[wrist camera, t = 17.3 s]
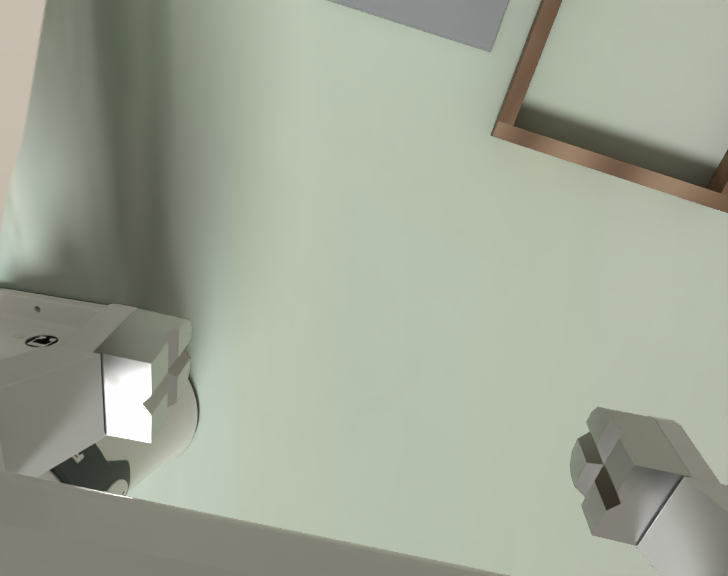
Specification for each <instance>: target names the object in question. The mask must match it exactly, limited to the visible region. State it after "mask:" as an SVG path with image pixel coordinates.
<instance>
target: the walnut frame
mask: <svg viewBox="0 0 728 576" xmlns="http://www.w3.org/2000/svg"><path fill="white" fill-rule="evenodd" d="M561 2H562V0H542V1H541V3H540V6H539V9H538V11H537V14H536V17H535V19H534V22H533V24H532V27H531V30H530V32H529V35H528V38H527V40H526V43H525V46H524V48H523V51H522V54H521V56H520V59H519V62H518V64H517V67H516V70H515V72H514V75H513V77H512V80H511V83H510V85H509V88H508V91H507V93H506V96H505V99H504V101H503V104H502V107H501V109H500V112H499V115H498V117H497V120H496V123H495V125H494V128H493V130H492V133H491V136H494V137H497V138H500V139H503V140H506V141H509V142H512V143H515V144H518V145H521V146H524V147H527V148H530V149H533V150H536V151H539V152H543V153H546V154H549V155H552V156H555V157H558V158H561V159H564V160H567V161H570V162H573V163H576V164H579V165H582V166H585V167H588V168H591V169H595V170H598V171H601V172H604V173H607V174H610V175H613V176H616V177H619V178H622V179H625V180H628V181H631V182H634V183H637V184H640V185H644V186H647V187H650V188H653V189H656V190H659V191H662V192H665V193H668V194H671V195H674V196H677V197H680V198H683V199H686V200H689V201H692V202H696V203H699V204H702V205H705V206H708V207H711V208H714V209H717V210H720V211H723V212H726V213H728V150H727V152H726V154H725V156H724V158H723V160H722V162H721V163H720V165H719V167H718V169H717V171H716V173H715V175H714V176H713V178H712V180H711V182H710V184H709V186H708V188H707V189H706V188H703V187H699V186H696V185H693V184H690V183H687V182H684V181H681V180H678V179H675V178H672V177H669V176H666V175H663V174H659V173H656V172H653V171H650V170H647V169H644V168H641V167H638V166H635V165H632V164H629V163H626V162H623V161H619V160H616V159H613V158H610V157H607V156H604V155H601V154H598V153H595V152H592V151H589V150H586V149H583V148H579V147H576V146H573V145H570V144H567V143H564V142H561V141H558V140H555V139H552V138H549V137H546V136H543V135H539V134H536V133H533V132H530V131H527V130H524V129H521V128H518V127H515V126H513V125H514V123H515V120H516V117H517V115H518V112H519V110H520V107H521V105H522V102H523V99H524V97H525V94H526V92H527V89H528V87H529V84H530V81H531V79H532V76H533V74H534V71H535V69H536V66H537V64H538V61H539V58H540V56H541V53H542V51H543V48H544V46H545V43H546V40H547V38H548V35H549V33H550V30H551V28H552V25H553V22H554V20H555V17H556V15H557V12H558V10H559V7H560V4H561Z"/></svg>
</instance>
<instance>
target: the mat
mask: <svg viewBox="0 0 728 576" xmlns="http://www.w3.org/2000/svg"><path fill="white" fill-rule="evenodd" d="M328 1H331V2H334V3H337V4H341V5H344V6H347V7H350V8H353V9H356V10H359V11H362V12H366V13H369V14H372V15H375V16H378V17H381V18H384V19H388V20H391V21H394V22H397V23H400V24H403V25H406V26H410V27H413V28H416V29H419V30H422V31H425V32H428V33H432V34H435V35H438V36H441V37H444V38H447V39H450V40H454V41H457V42H460V43H463V44H466V45H469V46H472V47H476V48H479V49H482V50H485V51H488V52H490V51H491V49H492V46H493V43H494V40H495V38H496V35H497V32H498V29H499V26H500V24H501V21H502V18H503V15H504V12H505V10H506V7H507V4H508V1H509V0H328Z"/></svg>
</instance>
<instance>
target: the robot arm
mask: <svg viewBox="0 0 728 576" xmlns="http://www.w3.org/2000/svg"><path fill="white" fill-rule="evenodd" d="M191 339H192V324H191V323H190V321H189V320H187V319H183V318H179V317H175V316H170V315H166V314H162V313H157V312H153V311H149V310H144V309H138V308H136V307H131V306H126V305H121V304H117V303H115V304H109V305H102V304H96V303H90V302H84V301H78V300H72V299H66V298H60V297H54V296H48V295H42V294H35V293H29V292H23V291H17V290H11V289H4V288H0V576H509V575H504V574H500V573H495V572H490V571H485V570H480V569H476V568H471V567H466V566H461V565H456V564H451V563H447V562H442V561H437V560H432V559H427V558H422V557H417V556H413V555H408V554H403V553H398V552H393V551H388V550H383V549H379V548H374V547H369V546H364V545H359V544H354V543H349V542H345V541H340V540H335V539H330V538H325V537H320V536H315V535H311V534H306V533H301V532H296V531H291V530H286V529H281V528H277V527H272V526H267V525H262V524H257V523H252V522H248V521H243V520H238V519H233V518H228V517H224V516H219V515H214V514H209V513H204V512H199V511H195V510H190V509H185V508H180V507H175V506H170V505H166V504H161V503H156V502H151V501H146V500H141V499H137V498H132V497H127V496H126V494H127V493H129V492H130V491H131V490H132V489H133V488H134V487H135V486H136V485H137V484H139V483H140V482H141V481H142V480H143V479H144V478H146V477H147V476H148V475H149V474H151V473H152V472H153V471H155V470H156V469H157V468H159V467H160V466H162V465H163V464H165V463H167V462H168V461H170V460H172V459H174V458H176V457H177V456H178V455H180V454H181V453H182V452H183V451H184V450H185V449H186V448H187V446H188V445H189V443H190V442H191V440H192V438H193V436H194V433H195V430H196V425H197V416H198V412H197V403H196V398H195V395H194V391H193V389H192V386H191V384H190V382H189V380H188V376H189V371H190V362H191V357H190V356H189V354H188V353H187V351H186V350H185V348H186V346H187V345H188V343H189V342H190V340H191ZM586 423H587V426H588V429H589V432H588V433H587V434H585V435H583V436H582V437H580V438H578V439H577V441H576V443H575V446H574V448H573V450H572V453H571V460H570V471H571V477H572V480H573V483H574V486H575V487H576V488H577V489H578V490H579V491H580V492H581V493H582V494H583V495H584V496H585V499H584V501H583V503H582V505H581V506H582V509H583V512H584V515H585V517H586V520H587V523H588V526H589V528H590V531H591V534H592V535H593V536H598V537H602V538H606V539H610V540H615V541H619V542H623V543H627V544H631V545H636V546H637V547H636V548H637V549H638V550H639V552H640V553H641V554H642V555H643V556H644V557H645V559H646V560H647V561H648V562H649V563H650V564H651V566H652V567H653V568H654V569H655V570H656V571H657V573H658V574H659V575H660V576H728V485H723V484H720V482H719V481H718V479H717V478H716V476H715V475H714V473H713V472H712V470H711V469H710V468H709V466H708V465H707V463H706V462H705V460H704V459H703V457H702V456H701V454H700V453H699V451H698V450H697V448H696V447H695V446H694V444H693V443H692V441H691V440H690V438H689V437H688V435H687V434H686V432H685V431H684V429H683V428H682V426H681V425H679V424H678V423H676V422H675V421H673V420H667V419H662V418H656V417H651V416H642V415H637V414H632V413H627V412H622V411H617V410H612V409H607V408H602V407H597V408H596V409H594V410H593V411H592V412H591V414H590V416H589V418H588V420H587V421H586Z"/></svg>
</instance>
